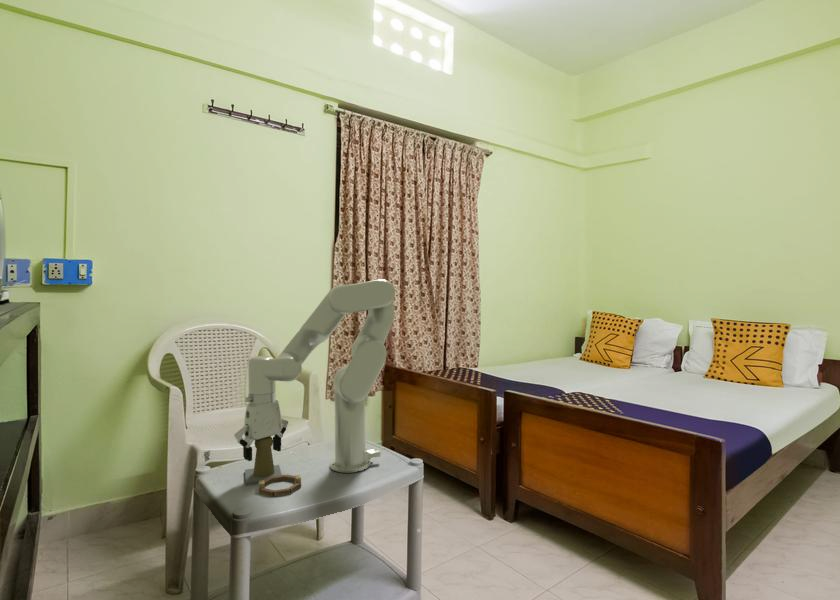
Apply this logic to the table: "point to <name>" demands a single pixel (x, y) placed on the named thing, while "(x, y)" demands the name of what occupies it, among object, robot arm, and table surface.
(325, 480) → the table surface
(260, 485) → the collar
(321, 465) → the table surface
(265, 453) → the cork
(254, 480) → the pad
